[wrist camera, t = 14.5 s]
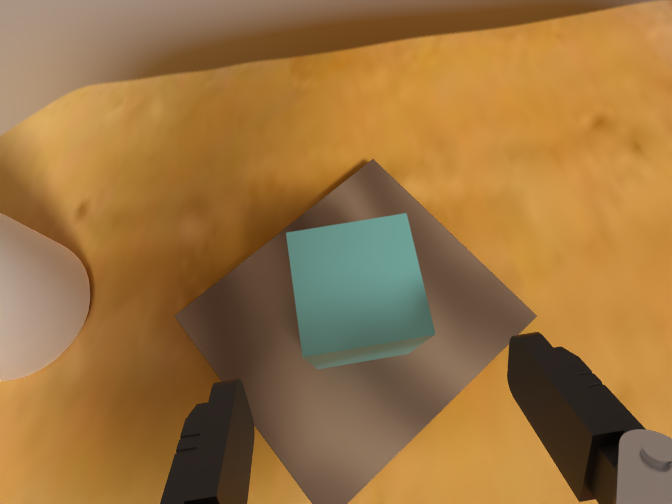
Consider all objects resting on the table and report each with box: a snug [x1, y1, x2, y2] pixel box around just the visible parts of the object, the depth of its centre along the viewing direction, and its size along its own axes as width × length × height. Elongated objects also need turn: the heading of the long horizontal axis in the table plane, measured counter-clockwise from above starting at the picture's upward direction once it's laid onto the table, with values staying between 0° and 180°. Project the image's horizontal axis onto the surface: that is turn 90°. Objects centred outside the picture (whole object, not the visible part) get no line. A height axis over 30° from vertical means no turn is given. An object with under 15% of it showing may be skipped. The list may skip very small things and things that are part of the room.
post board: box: [174, 159, 537, 504], centre depth 22 cm, size 16×14×7 cm
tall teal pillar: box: [286, 213, 436, 369], centre depth 21 cm, size 5×5×8 cm
